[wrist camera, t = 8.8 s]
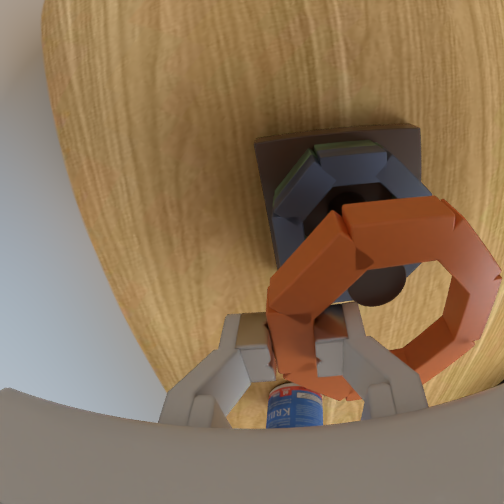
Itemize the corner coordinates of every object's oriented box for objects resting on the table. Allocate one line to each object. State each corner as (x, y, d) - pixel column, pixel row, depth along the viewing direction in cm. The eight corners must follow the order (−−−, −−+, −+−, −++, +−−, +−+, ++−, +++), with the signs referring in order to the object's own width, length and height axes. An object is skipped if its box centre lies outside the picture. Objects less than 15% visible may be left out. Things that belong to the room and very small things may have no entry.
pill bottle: (284, 374, 27) (280, 471, 18) (331, 387, 28) (337, 477, 19) (259, 400, 30) (251, 484, 21) (303, 411, 30) (302, 490, 22)
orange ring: (252, 214, 9) (248, 238, 7) (495, 190, 7) (519, 208, 6) (286, 381, 13) (285, 408, 11) (452, 354, 11) (462, 377, 10)
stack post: (255, 138, 16) (235, 184, 9) (410, 123, 15) (489, 162, 8) (280, 271, 21) (276, 367, 14) (408, 256, 19) (452, 341, 12)
